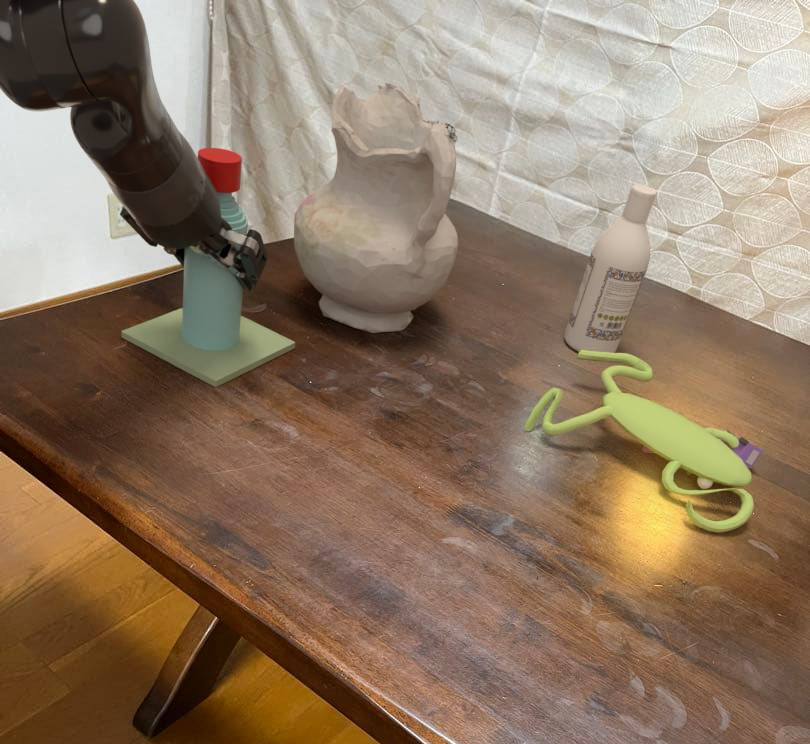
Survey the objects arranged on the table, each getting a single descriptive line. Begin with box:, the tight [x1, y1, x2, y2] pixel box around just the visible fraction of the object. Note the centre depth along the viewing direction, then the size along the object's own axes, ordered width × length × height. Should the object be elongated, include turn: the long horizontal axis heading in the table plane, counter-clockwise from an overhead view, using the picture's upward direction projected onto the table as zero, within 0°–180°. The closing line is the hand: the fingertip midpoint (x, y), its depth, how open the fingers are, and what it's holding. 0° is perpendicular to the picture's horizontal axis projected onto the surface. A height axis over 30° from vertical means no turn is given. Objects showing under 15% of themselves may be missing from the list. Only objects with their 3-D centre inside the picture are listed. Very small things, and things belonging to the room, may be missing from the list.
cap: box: [197, 147, 243, 194], centre depth 82 cm, size 4×4×3 cm
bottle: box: [182, 192, 249, 351], centre depth 87 cm, size 6×6×18 cm
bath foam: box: [563, 184, 657, 353], centre depth 105 cm, size 7×7×20 cm
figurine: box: [524, 350, 764, 534], centre depth 92 cm, size 18×27×6 cm
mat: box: [121, 307, 296, 388], centre depth 93 cm, size 13×13×1 cm
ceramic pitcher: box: [293, 82, 459, 334], centre depth 99 cm, size 22×20×25 cm
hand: (221, 272), depth 90 cm, fingers open, 6 cm apart
